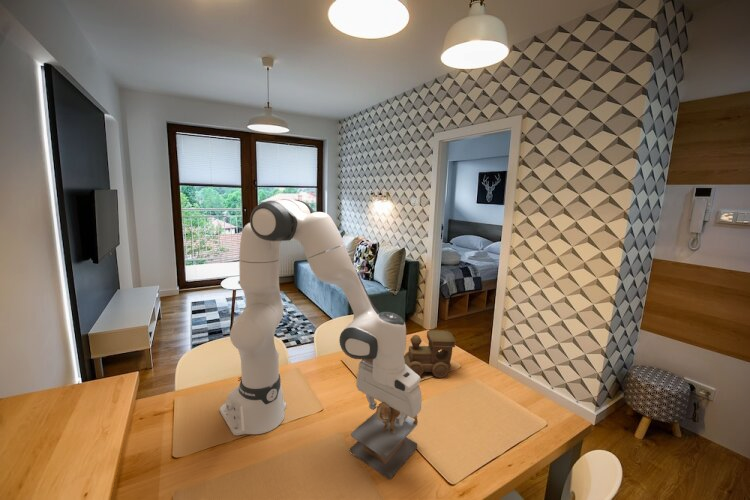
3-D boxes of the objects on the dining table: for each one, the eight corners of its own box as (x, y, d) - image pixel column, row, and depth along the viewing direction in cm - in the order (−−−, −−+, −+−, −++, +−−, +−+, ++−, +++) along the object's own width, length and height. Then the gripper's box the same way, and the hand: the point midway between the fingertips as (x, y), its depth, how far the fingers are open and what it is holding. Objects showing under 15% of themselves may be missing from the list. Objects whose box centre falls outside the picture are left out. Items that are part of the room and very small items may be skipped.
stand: (347, 454, 91) (348, 431, 90) (380, 424, 104) (381, 403, 102) (387, 482, 83) (389, 457, 82) (418, 445, 96) (420, 423, 94)
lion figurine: (384, 442, 85) (383, 410, 85) (372, 432, 90) (371, 401, 89) (423, 421, 94) (422, 392, 94) (410, 413, 99) (410, 385, 98)
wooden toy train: (445, 364, 142) (448, 329, 139) (453, 379, 131) (456, 341, 128) (400, 364, 141) (403, 328, 138) (404, 379, 130) (407, 340, 127)
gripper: (352, 362, 93) (351, 405, 95) (414, 390, 80) (410, 439, 83) (366, 354, 98) (364, 395, 100) (426, 379, 85) (422, 425, 88)
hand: (385, 415), depth 91 cm, fingers open, 8 cm apart
